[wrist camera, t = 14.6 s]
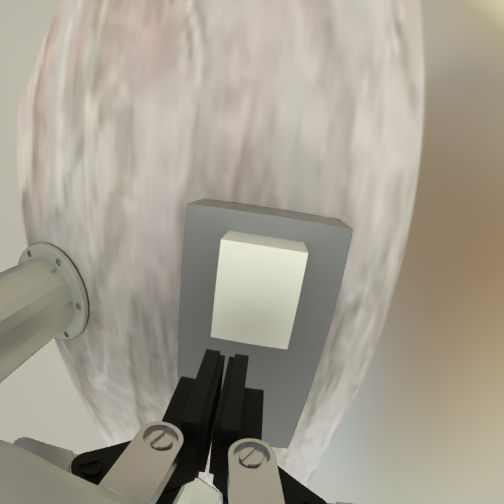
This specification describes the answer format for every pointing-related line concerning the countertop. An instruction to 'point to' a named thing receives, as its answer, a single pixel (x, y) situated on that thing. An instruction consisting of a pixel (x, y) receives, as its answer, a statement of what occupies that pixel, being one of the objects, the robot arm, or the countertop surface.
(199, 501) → the medicine bottle
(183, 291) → the socket board
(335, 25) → the countertop surface
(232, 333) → the plug
